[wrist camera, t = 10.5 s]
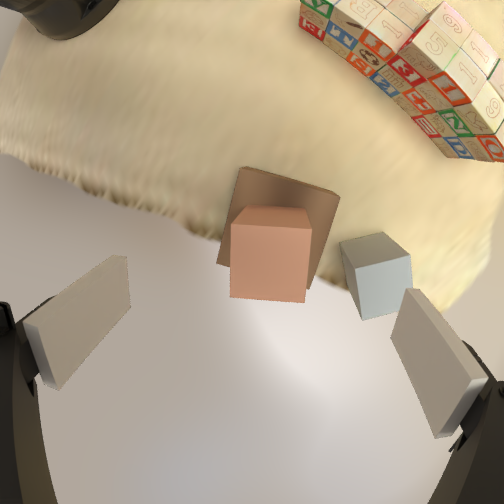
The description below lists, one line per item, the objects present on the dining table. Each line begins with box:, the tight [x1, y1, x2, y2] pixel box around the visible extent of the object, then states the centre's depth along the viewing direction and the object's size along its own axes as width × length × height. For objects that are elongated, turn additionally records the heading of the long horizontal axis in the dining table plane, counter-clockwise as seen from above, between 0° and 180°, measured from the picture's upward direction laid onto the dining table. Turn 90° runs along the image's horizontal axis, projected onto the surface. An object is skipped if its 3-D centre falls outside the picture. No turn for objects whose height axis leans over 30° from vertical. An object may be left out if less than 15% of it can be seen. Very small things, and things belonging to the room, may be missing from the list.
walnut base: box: [216, 167, 340, 289], centre depth 30 cm, size 9×9×5 cm
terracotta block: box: [230, 205, 312, 303], centre depth 23 cm, size 5×5×8 cm
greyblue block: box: [339, 232, 413, 320], centre depth 28 cm, size 5×5×8 cm
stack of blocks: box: [299, 0, 504, 162], centre depth 20 cm, size 21×6×12 cm, turn 52°
